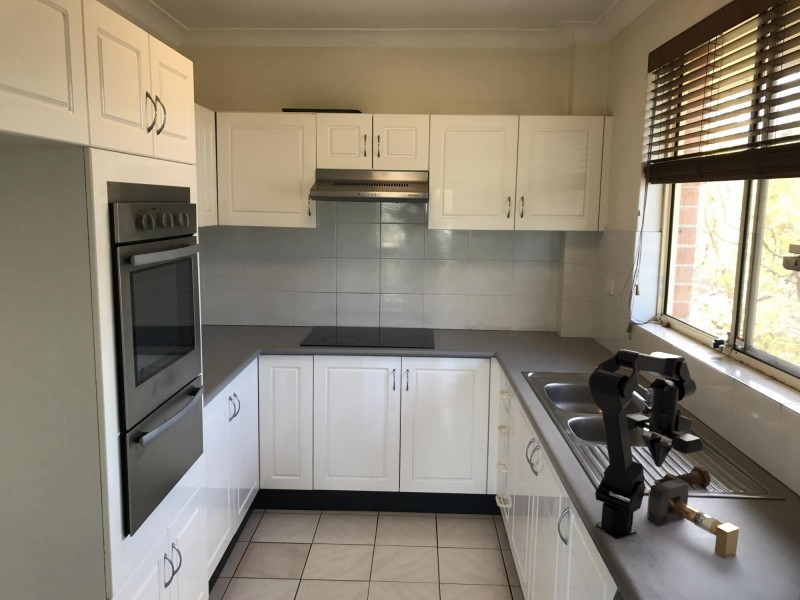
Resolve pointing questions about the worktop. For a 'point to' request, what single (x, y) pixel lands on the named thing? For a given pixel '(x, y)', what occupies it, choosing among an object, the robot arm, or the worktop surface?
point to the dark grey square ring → (666, 501)
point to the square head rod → (708, 527)
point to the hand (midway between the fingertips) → (658, 466)
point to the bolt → (690, 477)
